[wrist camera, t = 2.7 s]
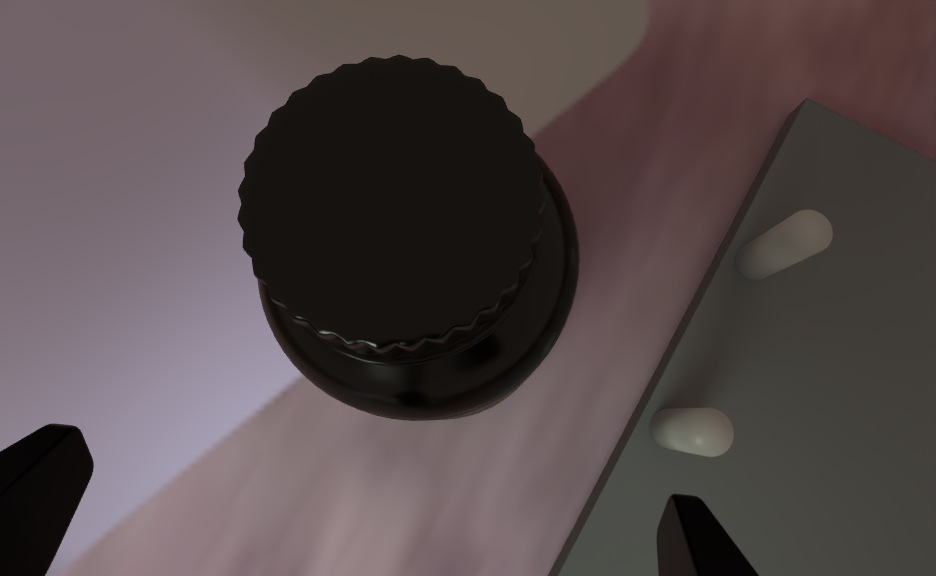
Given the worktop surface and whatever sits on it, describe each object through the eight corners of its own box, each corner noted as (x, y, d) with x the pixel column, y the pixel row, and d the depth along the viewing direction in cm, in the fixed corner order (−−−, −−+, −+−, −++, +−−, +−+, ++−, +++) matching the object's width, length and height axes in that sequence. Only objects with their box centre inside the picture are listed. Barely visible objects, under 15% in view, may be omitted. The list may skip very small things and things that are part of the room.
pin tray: (943, 830, 18) (1100, 973, 14) (543, 584, 20) (563, 636, 15) (1152, 294, 21) (1341, 260, 16) (789, 114, 22) (869, 37, 18)
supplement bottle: (532, 208, 22) (591, -27, 10) (557, 407, 21) (659, 401, 9) (335, 228, 22) (167, 18, 10) (348, 429, 21) (172, 452, 9)
